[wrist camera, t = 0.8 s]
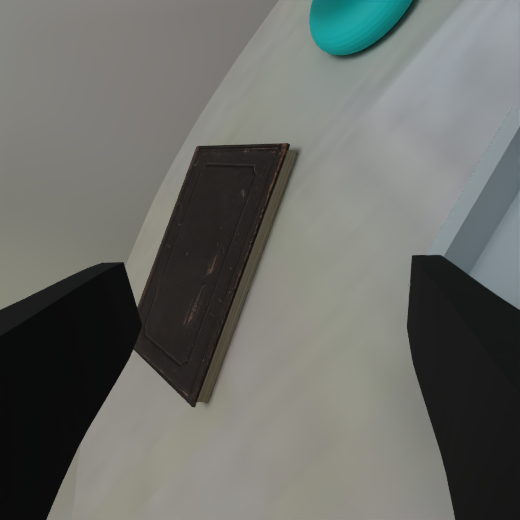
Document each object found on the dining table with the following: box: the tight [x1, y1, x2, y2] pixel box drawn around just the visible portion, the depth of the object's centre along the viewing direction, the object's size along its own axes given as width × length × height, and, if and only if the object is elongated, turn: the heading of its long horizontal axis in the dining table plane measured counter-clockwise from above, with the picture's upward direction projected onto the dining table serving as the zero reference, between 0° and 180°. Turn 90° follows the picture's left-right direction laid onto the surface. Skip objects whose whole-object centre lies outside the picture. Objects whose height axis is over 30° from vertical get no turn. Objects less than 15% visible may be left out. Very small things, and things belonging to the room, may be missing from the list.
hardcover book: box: [134, 143, 297, 407], centre depth 41 cm, size 16×23×2 cm
